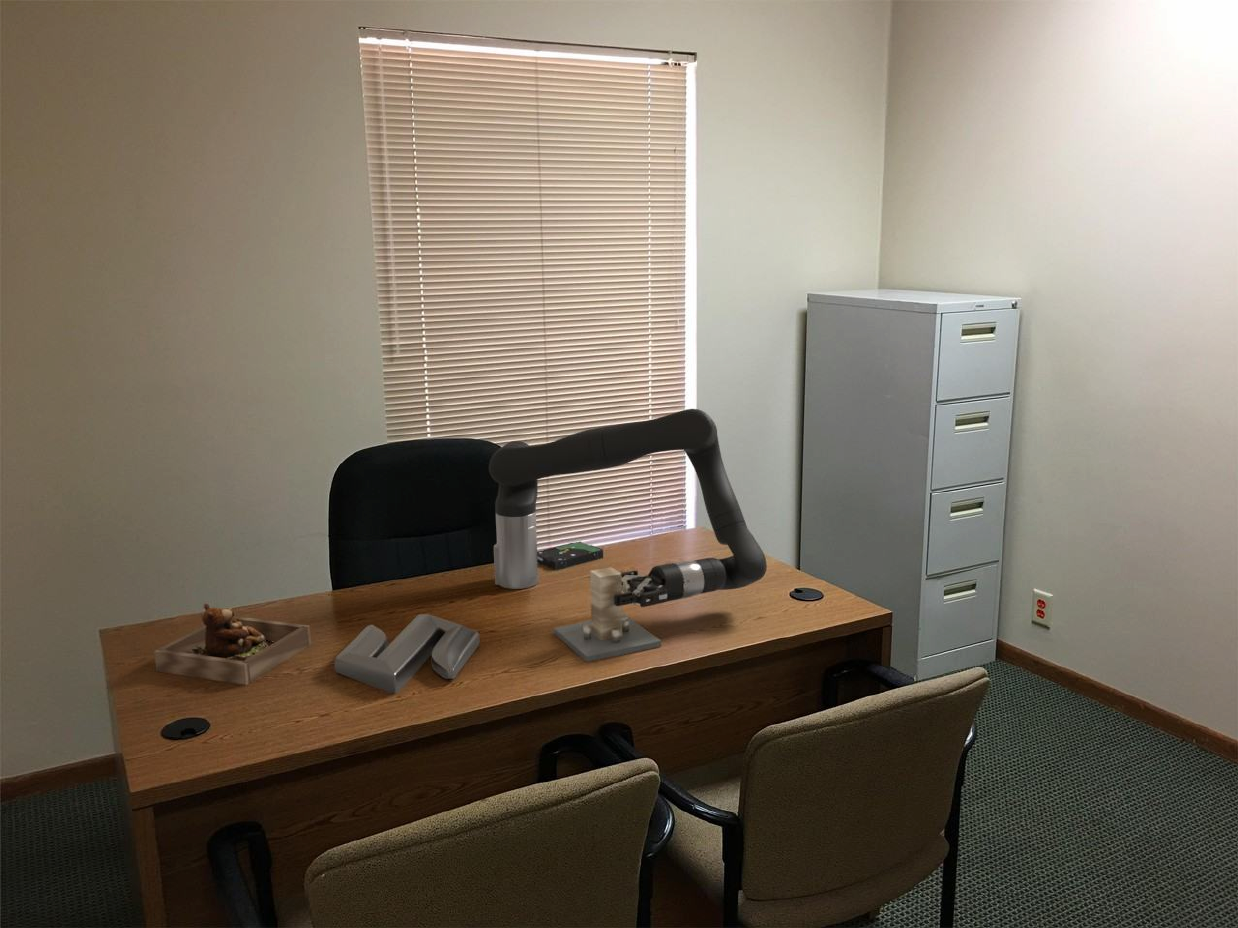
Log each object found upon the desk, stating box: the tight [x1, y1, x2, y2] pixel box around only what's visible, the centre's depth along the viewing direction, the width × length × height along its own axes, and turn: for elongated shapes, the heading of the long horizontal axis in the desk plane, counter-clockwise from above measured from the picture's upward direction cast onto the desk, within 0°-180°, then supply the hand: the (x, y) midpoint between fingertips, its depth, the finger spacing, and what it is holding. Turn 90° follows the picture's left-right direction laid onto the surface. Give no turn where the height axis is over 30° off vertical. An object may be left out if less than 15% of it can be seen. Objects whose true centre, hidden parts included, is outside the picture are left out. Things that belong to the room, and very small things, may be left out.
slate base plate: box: [553, 613, 662, 663], centre depth 199 cm, size 16×16×4 cm
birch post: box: [589, 566, 623, 640], centre depth 197 cm, size 5×5×13 cm
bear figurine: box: [192, 603, 269, 661], centre depth 192 cm, size 14×15×12 cm
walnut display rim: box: [153, 615, 312, 686], centre depth 193 cm, size 20×19×4 cm
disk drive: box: [537, 541, 604, 571], centre depth 249 cm, size 10×3×15 cm
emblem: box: [334, 613, 480, 695], centre depth 190 cm, size 28×5×28 cm
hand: (605, 594), depth 197 cm, fingers open, 8 cm apart
